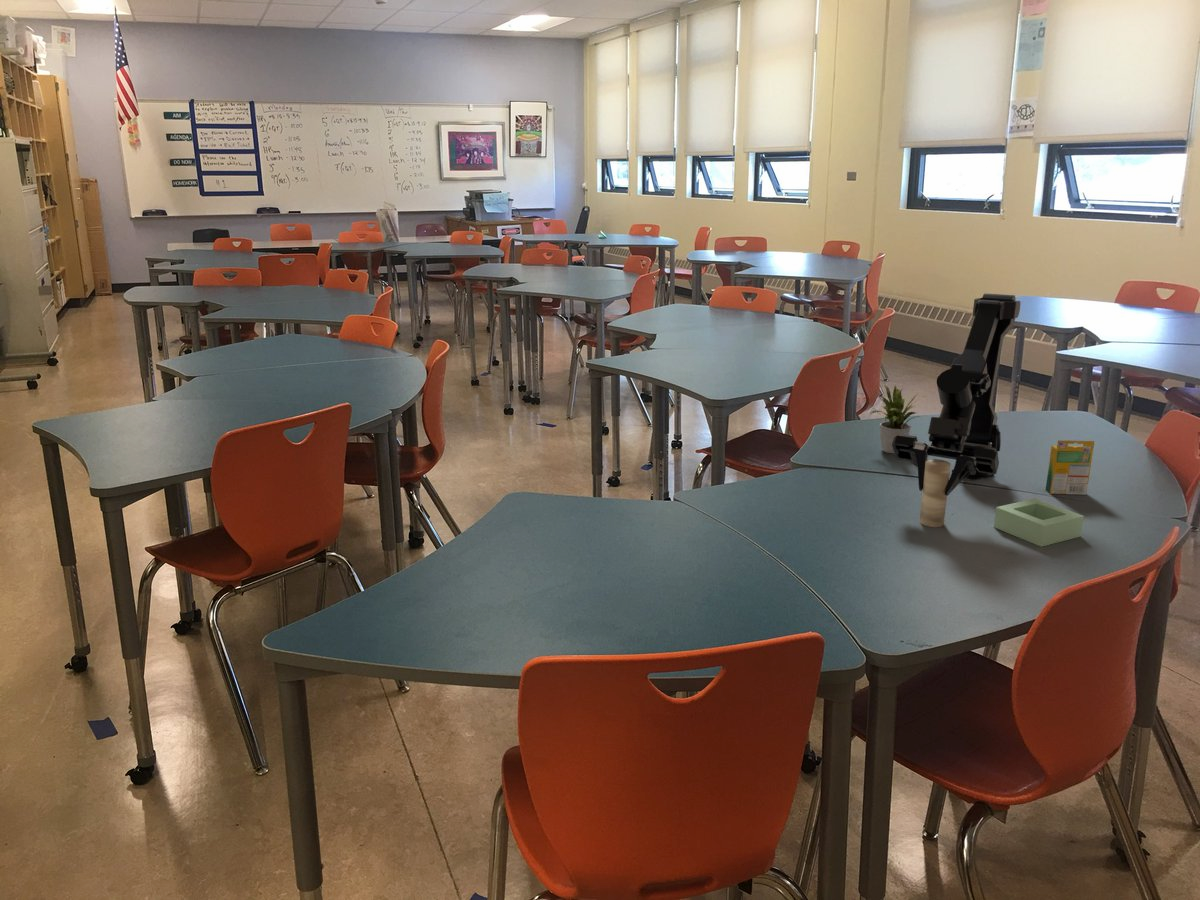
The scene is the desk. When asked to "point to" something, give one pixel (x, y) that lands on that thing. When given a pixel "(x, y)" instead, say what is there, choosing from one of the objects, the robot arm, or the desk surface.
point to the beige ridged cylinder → (934, 493)
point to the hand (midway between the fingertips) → (933, 492)
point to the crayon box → (1069, 468)
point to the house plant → (894, 418)
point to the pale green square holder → (1038, 522)
